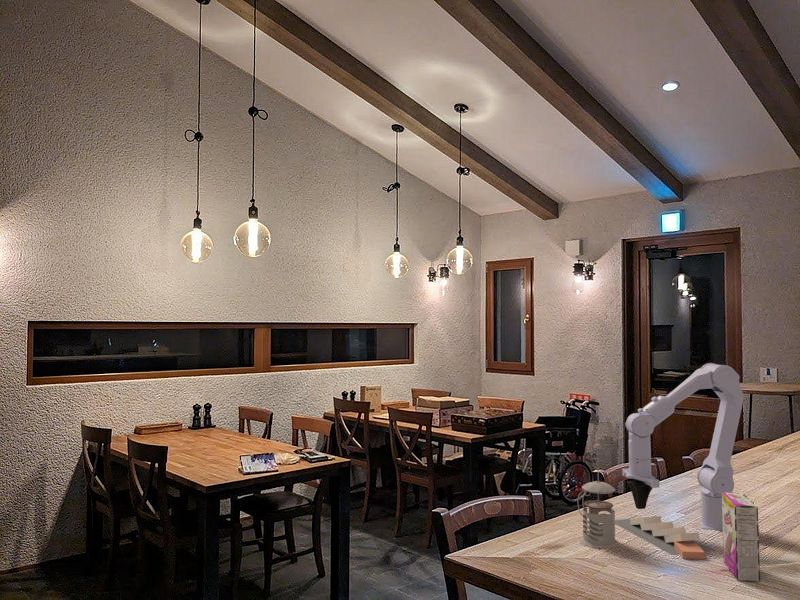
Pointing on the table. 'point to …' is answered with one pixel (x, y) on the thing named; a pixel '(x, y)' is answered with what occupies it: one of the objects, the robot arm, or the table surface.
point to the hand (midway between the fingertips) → (640, 508)
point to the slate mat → (654, 537)
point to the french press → (598, 516)
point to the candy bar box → (741, 536)
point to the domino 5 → (689, 550)
